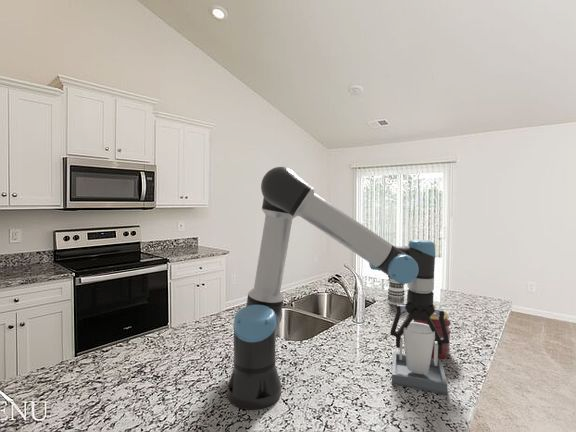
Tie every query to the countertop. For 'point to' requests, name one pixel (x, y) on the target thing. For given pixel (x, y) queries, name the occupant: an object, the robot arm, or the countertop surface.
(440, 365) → the tray
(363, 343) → the countertop surface
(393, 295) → the decorative candle
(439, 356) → the canister
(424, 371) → the foam cup
